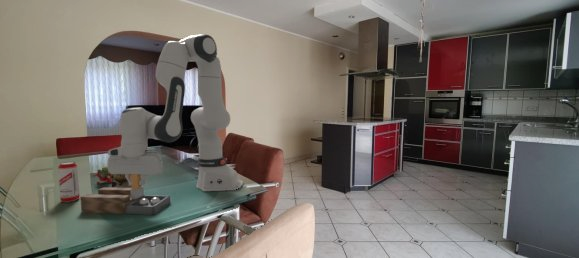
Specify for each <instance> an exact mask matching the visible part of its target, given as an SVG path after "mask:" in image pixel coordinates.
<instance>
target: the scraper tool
mask: <svg viewBox="0 0 579 258" xmlns="http://www.w3.org/2000/svg"><path fill="white" fill-rule="evenodd" d="M141 179H142V177H141V175H140V174H131V185H132V187H131V188H132V190H130V191H131V199H137V198H139V197H141V196H142V195H143V192H144V185H143V186H139V185H138V184H139V183H138V181H140V180H141Z"/></svg>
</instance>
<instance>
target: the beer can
mask: <svg viewBox="0 0 579 258" xmlns="http://www.w3.org/2000/svg"><path fill="white" fill-rule="evenodd" d="M78 171H79V170H78V165H77V164H76V161H64V162H61V163H59V166H58V167H57V173H58V186H59V198H60V201H61V202H62V203H71V202H70V201H73V202H75V200H76V201H78V200H77V199H80V198H81V195H80V185H79V184H80V183H79V172H78Z"/></svg>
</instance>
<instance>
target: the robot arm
mask: <svg viewBox="0 0 579 258" xmlns="http://www.w3.org/2000/svg"><path fill="white" fill-rule="evenodd" d="M217 48H218V47H217V44H216V41H215V39H214V38H213V37H212V35H209V34H204V33H201V34H200V33H199V34H193V35H189V36H187V37H184V38H180V39H178V40H177V41H176V40H169V41H168V42H166V43H165V44H164V46H163V48H162V49H161V50H162V51H161V53H160V55H159V58H158V60H157V65H156V69H155V79H156V81H157V82H158V83H159V85H160V86H161V87H163V88H164V89H165V91H166V99H165V100H166V101H165V108H164V112H163V115H157V114H155V113H152V112H150V111H148V110H146V109H145V108H143V107H139V106H136V107H129V108H126V109H123V111H121V114H120V119H119V132H120V134H121V141H120V146H118V147H114V148H112V149H109V150H108V151H107V155H108V158H107V167H108V172H109V173H110V174H125V177H126V179H127V180H128V183H129V185H131V174H140V175H141V180H140V181H138V183H139V184H138V185H139V186H143V187H144V186H145V183H146V182H145V181H146V179H147V177H148V176H149V175H150V176H153V175H154V176H155V175H156V176H158V175H160V174H162V173H163V171H164V164H163V159H162V158H163V155H162V153H161V152H160V151H158V150H156V149H155V150H151V149H149V147H148V144H149V143H148V139H153V140H158V141H161V142H164V143H174V142H175V141H177V140H178V139H180V137H181V135H182V133H183V119H182V117H183V116H182V115H183V108H184V101H185V92H186V84H185V76H186V71H187V66H188V63H190V62H195V64H196V65H197V68H198V69H197V94H198V96H199V98H200V101H201V105H202V106H199V107H198V108H196V109H194V110H193V111H192V112H191V115H190V121H191V123H192V124H193V126H194V130H195V134H196V137H197V143H198V158H197V168H198V176H197V182H196V186H195V187H196V188H197V189H198V190H200V191H202V192H222V191H223V192H224V191H226V190H227V191H236V189H237V190H238V188H239V189H241V188H242V187H243V186H244V182H243V180H241V179H239V174H238V173H237V171H236V170H235V169H234V168H232V167H231V166H229V165H228V164H227V160H228V158H227V157H226V158H225V157H224V156H223V141H222V139H221V138H220V136H219V133H218V131H221V130H224V129H227V128H228V126H229V125H230V124H231V115H230V113H229V111H228V110H227V108H226V106H225V103H224V99H223V89H222V88H223V86H222V82H223V81H222V80H223V78H222V66H221V61H220V58H219V57H218V56H217V55H218V53H217V52H218V49H217ZM241 186H242V187H241Z"/></svg>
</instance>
